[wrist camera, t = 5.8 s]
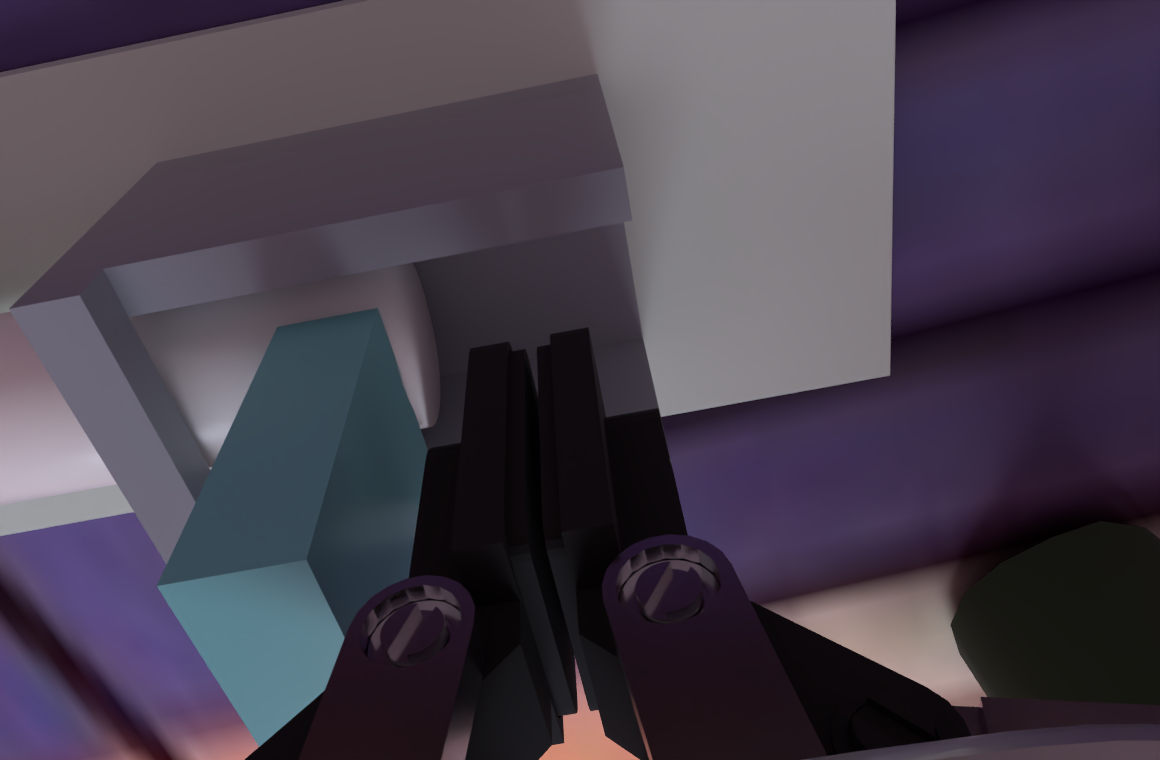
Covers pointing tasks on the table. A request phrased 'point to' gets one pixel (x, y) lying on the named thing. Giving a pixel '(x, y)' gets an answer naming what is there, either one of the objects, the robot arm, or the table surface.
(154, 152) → the board
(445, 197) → the bracket
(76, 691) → the table surface
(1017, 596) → the character mug
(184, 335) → the sliding bolt
